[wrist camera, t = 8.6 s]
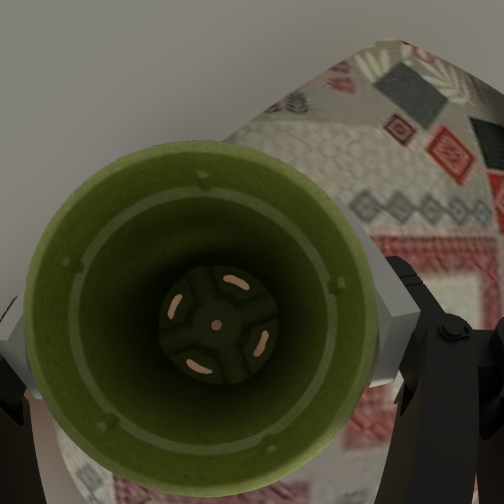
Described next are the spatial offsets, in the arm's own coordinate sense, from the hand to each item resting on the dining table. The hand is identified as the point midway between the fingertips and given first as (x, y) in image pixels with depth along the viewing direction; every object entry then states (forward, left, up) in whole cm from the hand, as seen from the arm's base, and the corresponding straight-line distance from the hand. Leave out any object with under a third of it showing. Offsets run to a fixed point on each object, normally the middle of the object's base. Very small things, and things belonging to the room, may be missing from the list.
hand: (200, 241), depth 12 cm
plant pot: (+2, +3, -4) cm, 5 cm away
